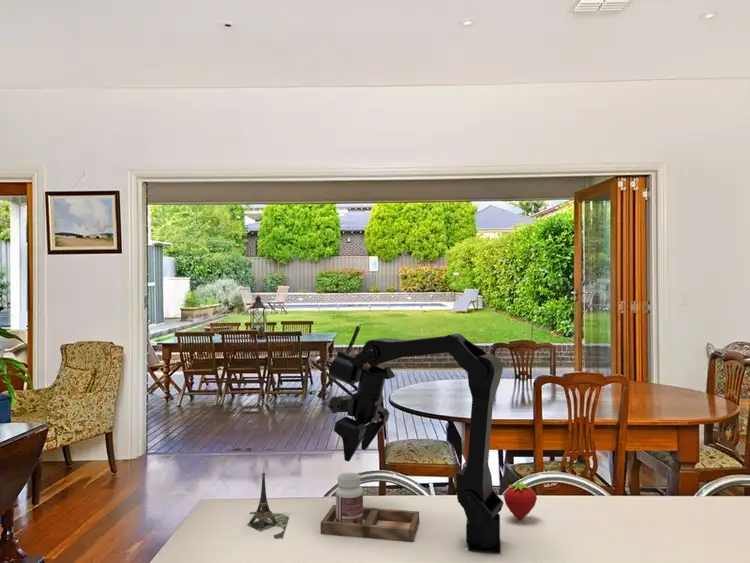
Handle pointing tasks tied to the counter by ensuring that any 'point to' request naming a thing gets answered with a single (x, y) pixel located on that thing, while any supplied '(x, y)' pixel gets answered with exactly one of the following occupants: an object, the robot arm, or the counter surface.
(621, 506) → the counter surface
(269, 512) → the eiffel tower figurine
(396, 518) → the caddy
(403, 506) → the counter surface
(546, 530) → the counter surface
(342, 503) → the pill bottle
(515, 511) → the strawberry
